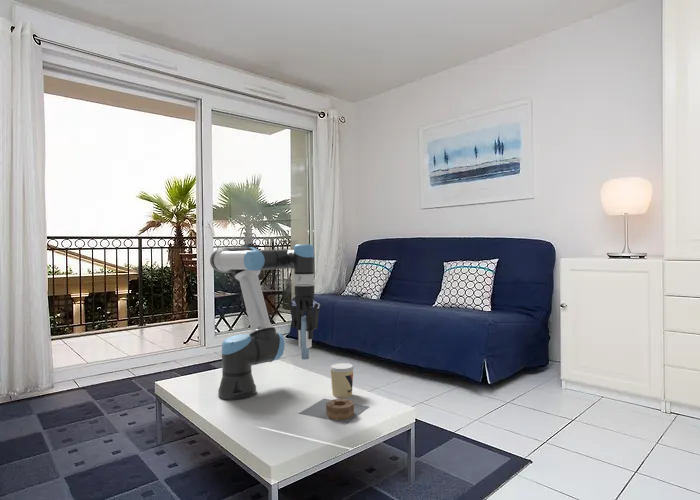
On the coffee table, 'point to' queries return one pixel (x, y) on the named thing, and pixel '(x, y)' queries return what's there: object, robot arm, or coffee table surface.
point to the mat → (320, 411)
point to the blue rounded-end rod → (304, 338)
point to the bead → (340, 409)
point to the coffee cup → (342, 379)
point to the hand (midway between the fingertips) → (305, 346)
